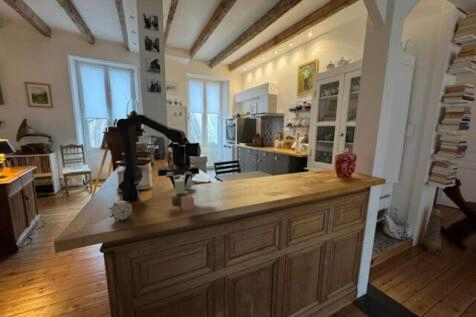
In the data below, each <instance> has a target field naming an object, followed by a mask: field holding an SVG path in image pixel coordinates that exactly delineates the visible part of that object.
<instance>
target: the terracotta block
mask: <svg viewBox="0 0 476 317" xmlns="http://www.w3.org/2000/svg"><path fill="white" fill-rule="evenodd" d="M180 207H181V209H182V210H183V211H184V212H185V211H189V210H190V211H191V210H194V209H195V198H194V197H193V196H192V195H189V194H188V196H183V197H181V204H180Z"/></svg>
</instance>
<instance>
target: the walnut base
mask: <svg viewBox="0 0 476 317" xmlns="http://www.w3.org/2000/svg"><path fill="white" fill-rule="evenodd" d="M183 196H189V190H185V191H182V192H175V191H173V192H172V195H171V204H172V205H177V204H180V205H181V197H183Z"/></svg>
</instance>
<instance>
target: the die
mask: <svg viewBox="0 0 476 317" xmlns="http://www.w3.org/2000/svg"><path fill="white" fill-rule="evenodd" d="M191 177H192V176H190V177H189V178H188V181H187V184H186V187H185V191H190V190H191V188H192V187H193V184H194V182H193V180H192V178H191ZM178 179H184V181H185V175H179V178H178Z"/></svg>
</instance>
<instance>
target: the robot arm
mask: <svg viewBox="0 0 476 317" xmlns="http://www.w3.org/2000/svg"><path fill="white" fill-rule="evenodd" d="M142 125H144V126H146V127H148V128H150V129H151V130H155V131H156V132H159V133H160V134H162V135H164V136H165V138H167V140H170V141H171V142H170V143H169V144H168V145H167V146H166V147H167V148H171V151H172V152H171V155H172V156H171V158H172V165H171V166H172V168H171V169H168V167H159V168H158V170H157V176H158V177H165V176H166V178H169V180H170V182H171V185H172V186H173V189H174V190H175V177H174V176H185V181H184V182H185V187H186V184H187V181H188V178H189V177H193V175H198V174H200V168H199V167H198V166H197V165H196V166H195V165H193V166H190V164H189V163H186V158H185V157H187V158H200V157H201V153H202V149H201V145H200V142H190V141H189V139H188V138H187V136H186V133H185V132H184V130H181V129H178V128H173V127H170V126H167V125H165V124H164V123H161V122H159V121H157V120H155V119H153V118H151V117H149V116H147V115H146V114H142V113H141V114H136V115H135V116H132V117H127V118H119V119H117V121H116V126H115V127H116V129H117V132H118V134H119V135H120V138H121V139H122V146H123V154H124V163H125V168H124V172H123V175H122V181H121V182H120V183H119V184H118V185H117V186H118V189H119V190H121V194H122V197H121V198H122V200H123V201H127V202H128V201H129V202H134V201H137V200H138V199H139V197H140V195H139V194H140V192H139V188H138V186H139V184H140V182H141V181H142V180H143V177H144V175H143V169H142V168H140V169H139V167H138V165H137V157H136V146H135V138H134V137H135V135H136V133H137V128H138V127H141V126H142Z"/></svg>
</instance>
